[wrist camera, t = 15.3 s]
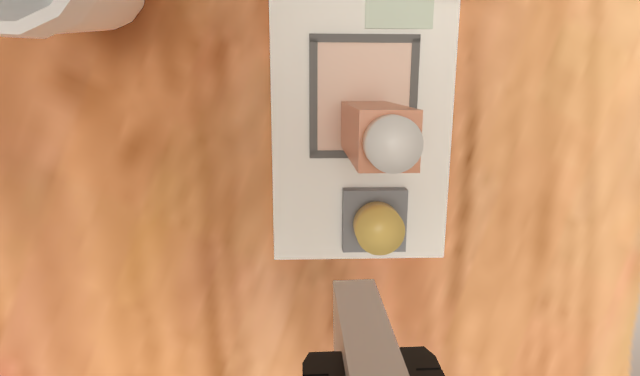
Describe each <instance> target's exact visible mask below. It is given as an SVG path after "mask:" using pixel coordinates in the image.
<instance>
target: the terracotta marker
mask: <svg viewBox="0 0 640 376" xmlns="http://www.w3.org/2000/svg"><path fill="white" fill-rule="evenodd" d="M422 123H423V110H421V109H416V108H412V107H408V106H404V105H400V104H396V103H391V102H387V101H341V147H342V149H343V150H344V152H345V153H346V155H347V157H348V158H349V160H350V161H351V163H352V164H353V166H354V168H355V169H356V171H357V172H358V173H389V174H398V173H420V163H421V154H422V151H423V146H424V141H423V136H422Z"/></svg>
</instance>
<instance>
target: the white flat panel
mask: <svg viewBox="0 0 640 376" xmlns="http://www.w3.org/2000/svg"><path fill="white" fill-rule="evenodd" d="M459 16H460V0H269V29H270V78H271V126H272V175H273V224H274V260H292V259H366V258H440V257H444V247H445V231H446V216H447V201H448V185H449V170H450V154H451V139H452V124H453V108H454V93H455V77H456V62H457V46H458V31H459ZM341 101H387V102H391V103H396V104H400V105H404V106H408V107H412V108H416V109H421V110H423V123H422V136H423V141H424V146H423V151H422V154H421V163H420V173H398V174H389V173H358V172H357V171H356V169H355V168H354V166H353V164H352V163H351V161H350V160H349V158H348V157H347V155H346V153H345V152H344V150H343V149H342V147H341ZM376 201H379V202H384V203H387V204H389V205H390V206H392V207H393V208H394V209H395V210H396V212H397V213H398V214H399V216H400V217H401V219H402V220H403V222H404V225H405V237H404V240H403V242H402V244H401V245H400V246H399V247H398V248H397V249H396V250H395V251H393V252H392V253H390V254H387V255H373V254H370V253H368V252H366V251H365V250H364V249H363V248H362V247H361V246H360V245H359V243H358V240H357V238H356V235H355V232H354V228H353V221H354V217H355V215H356V213H357V212H358V210H359V209H360V208H361V207H362V206H364V205H365V204H367V203H370V202H376Z"/></svg>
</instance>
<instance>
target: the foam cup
mask: <svg viewBox="0 0 640 376" xmlns="http://www.w3.org/2000/svg"><path fill="white" fill-rule="evenodd" d="M144 1H145V0H0V37H13V38H36V39H46V38H48V37H51V36H53V35H55V34H65V33H79V32H92V31H106V30H115V29H117V28H119V27H122V26H124V25H126V24H128V23H130V22H132V21H133V20H134V18H135V17H136V16H137V14H138V13H139V12H140V10H141V9H142V8H143V7H144Z"/></svg>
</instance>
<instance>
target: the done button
mask: <svg viewBox="0 0 640 376" xmlns="http://www.w3.org/2000/svg"><path fill="white" fill-rule="evenodd" d="M353 228H354V232H355V235H356V238H357V240H358V243H359V245H360V246H361V247H362V248H363V249H364V250H365V251H366V252H368V253H370V254H373V255H387V254H390V253H392V252H393V251H395V250H396V249H397V248H398V247H399V246H400V245H401V244H402V242H403V240H404V237H405V225H404V222H403V220H402V219H401V217H400V216H399V214H398V213H397V212H396V210H395V209H394V208H393V207H392V206H390V205H389V204H387V203H384V202H379V201H376V202H370V203H367V204H365V205H364V206H362V207H361V208H360V209H359V210H358V212H357V213H356V215H355V217H354V221H353Z"/></svg>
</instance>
